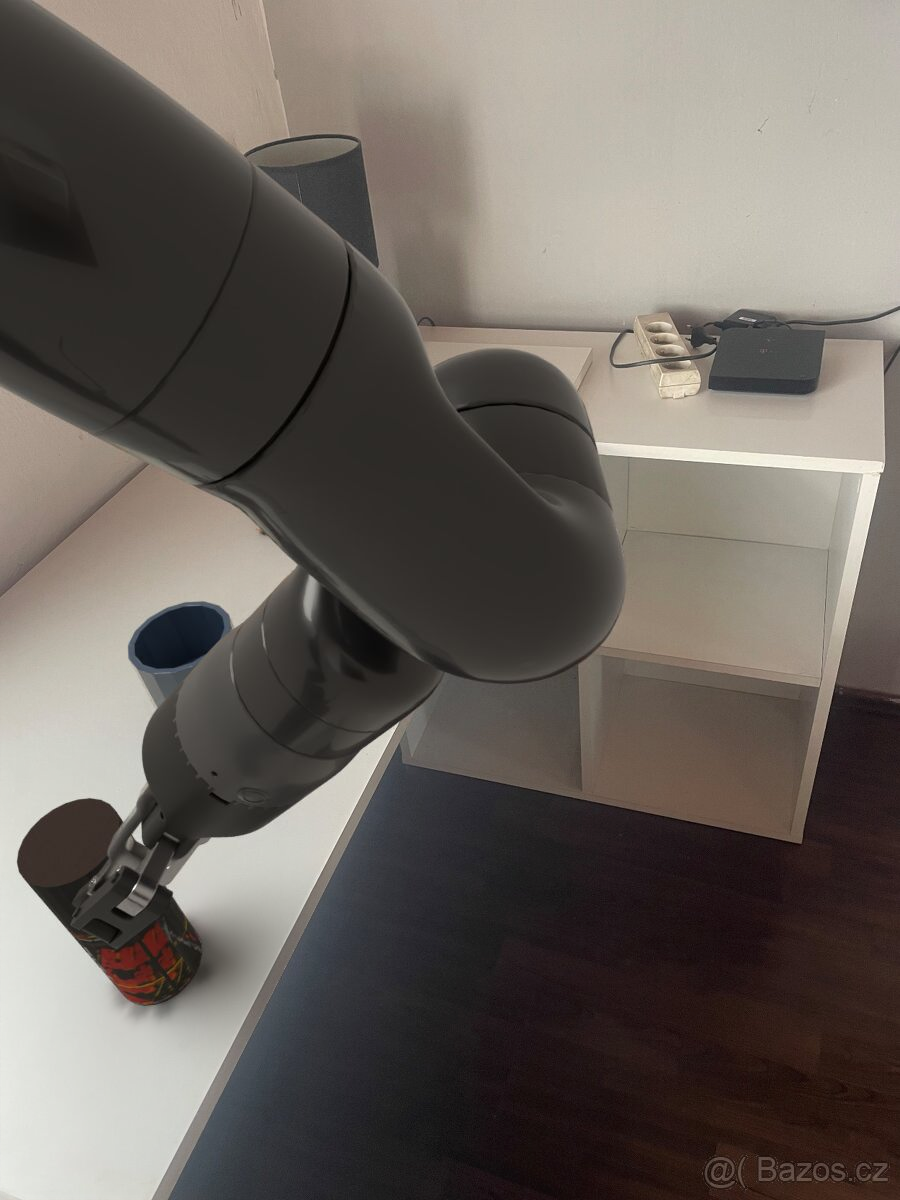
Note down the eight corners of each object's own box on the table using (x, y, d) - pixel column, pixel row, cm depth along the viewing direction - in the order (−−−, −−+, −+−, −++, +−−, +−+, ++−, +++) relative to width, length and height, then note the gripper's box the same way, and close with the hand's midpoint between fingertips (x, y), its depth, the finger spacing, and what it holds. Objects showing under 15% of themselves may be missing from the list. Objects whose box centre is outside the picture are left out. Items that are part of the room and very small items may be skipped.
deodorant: (99, 989, 59) (-6, 871, 49) (151, 912, 63) (63, 788, 53) (169, 1017, 57) (74, 899, 47) (218, 935, 61) (139, 811, 51)
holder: (212, 739, 75) (185, 684, 71) (136, 712, 79) (106, 658, 74) (272, 668, 81) (250, 613, 76) (198, 646, 85) (174, 592, 80)
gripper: (253, 568, 42) (134, 706, 52) (102, 817, 32) (-8, 926, 42) (377, 653, 44) (239, 769, 54) (273, 912, 34) (128, 994, 44)
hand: (131, 838), depth 48 cm, fingers open, 8 cm apart
